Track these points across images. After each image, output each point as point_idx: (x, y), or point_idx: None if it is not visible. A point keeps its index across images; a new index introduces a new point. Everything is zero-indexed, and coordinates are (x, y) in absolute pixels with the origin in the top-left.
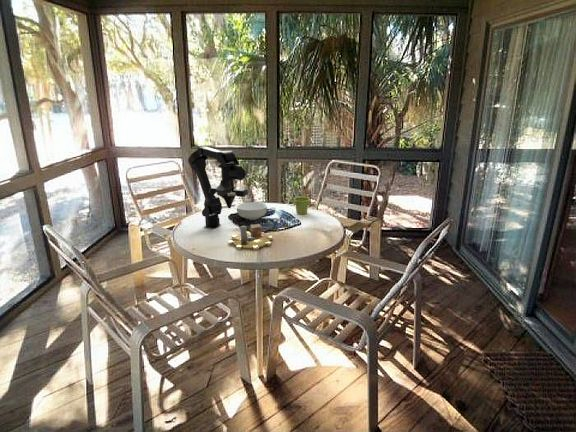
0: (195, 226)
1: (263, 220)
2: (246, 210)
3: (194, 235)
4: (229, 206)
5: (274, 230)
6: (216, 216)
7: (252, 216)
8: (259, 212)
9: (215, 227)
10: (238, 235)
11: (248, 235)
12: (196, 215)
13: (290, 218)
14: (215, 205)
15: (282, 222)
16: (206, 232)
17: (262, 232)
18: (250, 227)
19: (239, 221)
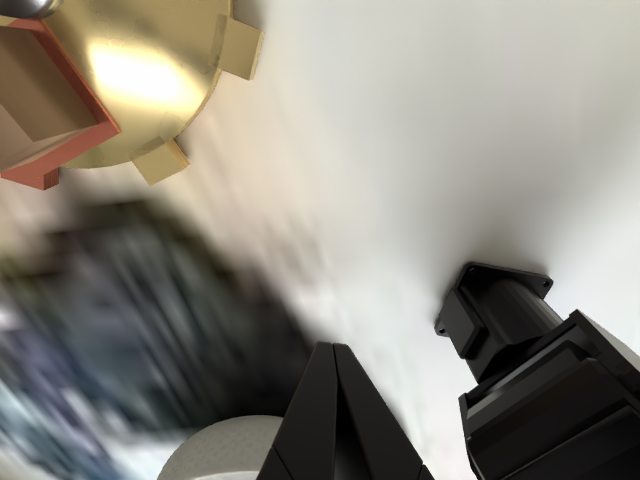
0: (614, 284)
1: (182, 414)
2: (259, 467)
3: (634, 88)
4: (316, 365)
5: (14, 277)
6: (489, 352)
7: (227, 424)
8: (175, 462)
9: (463, 271)
10: (197, 62)
11: (98, 75)
12: None
13: (45, 450)
14: (572, 448)
15: (52, 401)
16: (525, 176)
17: (18, 175)
18: (48, 128)
19: None
